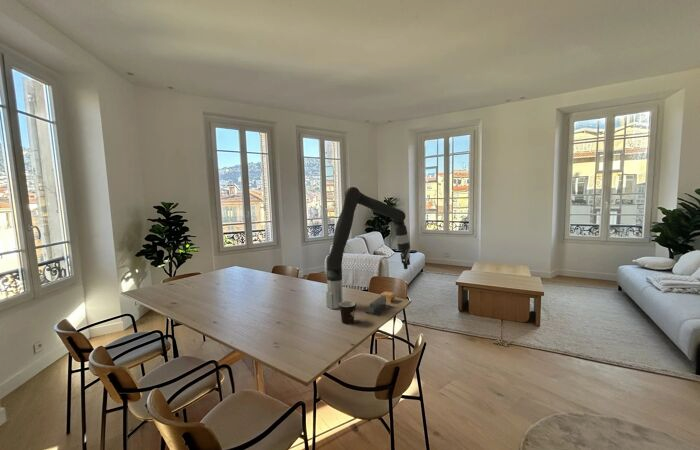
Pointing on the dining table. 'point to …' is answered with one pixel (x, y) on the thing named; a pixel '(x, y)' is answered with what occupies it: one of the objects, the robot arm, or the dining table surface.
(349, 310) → the coffee mug
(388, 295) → the block
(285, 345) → the dining table surface
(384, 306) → the rail
